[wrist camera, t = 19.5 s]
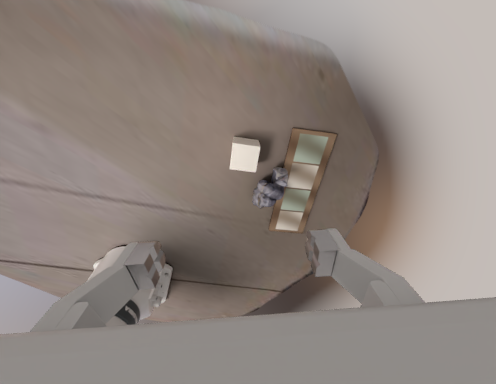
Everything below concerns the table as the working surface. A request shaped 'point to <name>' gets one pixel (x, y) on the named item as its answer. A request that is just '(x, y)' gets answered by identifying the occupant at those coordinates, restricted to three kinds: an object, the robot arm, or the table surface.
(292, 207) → the brown rectangular frame
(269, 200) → the seashell
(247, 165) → the cream white cube
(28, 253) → the table surface
